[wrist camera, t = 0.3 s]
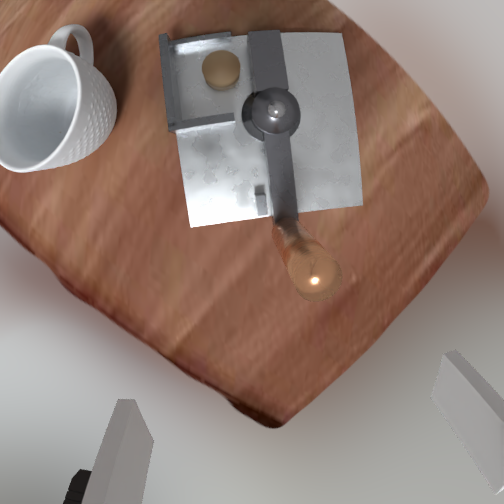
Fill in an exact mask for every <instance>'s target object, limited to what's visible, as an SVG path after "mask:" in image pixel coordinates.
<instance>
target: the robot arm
mask: <svg viewBox="0 0 504 504" xmlns="http://www.w3.org/2000/svg"><path fill="white" fill-rule="evenodd" d="M431 400H432V401H433V402H434V404H435V405H436V407H437V408H438V409H439V411H440V412H441V414H442V415H443V417H444V418H445V419H446V421H447V422H448V423H449V425H450V426H451V428H452V430H453V431H454V432H455V434H456V435H457V437H458V438H459V440H460V441H461V443H462V444H463V446H464V447H465V449H466V450H467V452H468V453H469V455H470V456H471V458H472V459H473V461H474V462H475V464H476V466H477V467H478V469H479V470H480V472H481V473H482V475H483V476H484V478H485V480H486V481H487V483H488V484H489V486H490V488H491V489H492V490H493V492H494V494H495V495H496V494H498V493H499V492H501V491H502V490H504V400H503V399H502V398H501V397H500V395H499V394H498V393H497V392H496V391H495V390H494V389H493V388H492V387H491V386H490V384H489V383H488V382H486V380H485V379H484V378H483V377H482V376H481V375H480V374H479V373H478V372H477V371H476V370H475V369H474V367H472V366H471V364H470V363H469V362H468V361H467V360H466V359H465V358H464V357H463V356H462V355H461V354H460V353H459V352H458V351H457V350H453V351H450V352H447V353H444V354H443V358H442V361H441V365H440V368H439V372H438V375H437V379H436V382H435V385H434V389H433V392H432V395H431ZM153 443H154V440H153V438H152V436H151V434H150V432H149V430H148V428H147V426H146V423H145V421H144V419H143V417H142V415H141V413H140V410H139V408H138V406H137V403H136V401H135V400H132V399H131V400H129V399H118V401H117V403H116V406H115V408H114V411H113V414H112V416H111V419H110V422H109V424H108V427H107V430H106V433H105V435H104V438H103V441H102V444H101V446H100V449H99V452H98V455H97V458H96V461H95V464H94V466H93V469H92V471H88V470H82V469H80V470H79V471H78V472H77V474H76V475H75V476H74V477H73V478H72V480H71V483H70V485H69V488H68V490H69V491H67V494H66V497H65V500H64V502H63V504H142V499H143V493H144V488H145V483H146V478H147V472H148V467H149V462H150V457H151V453H152V448H153Z"/></svg>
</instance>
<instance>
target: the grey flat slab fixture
mask: <svg viewBox="0 0 504 504" xmlns="http://www.w3.org/2000/svg"><path fill="white" fill-rule="evenodd" d="M280 34H281V40H282V46H283V52H284V59H285V65H286V72H287V78H288V85H289V89H288V90H287V91H289V92H290V93H291V94H293V95H294V97H295V98H296V99H297V101H298V104H299V107H300V115H299V119H298V121H297V123H296V124H295V125H294V127H293V128H291V129H290V130H289V135H290V143H291V152H292V160H293V169H294V179H295V188H296V198H297V208H298V213H299V212H307V211H315V210H324V209H332V208H341V207H350V206H359V205H363V200H362V183H361V169H360V157H359V146H358V136H357V127H356V119H355V111H354V103H353V96H352V89H351V83H350V76H349V70H348V64H347V59H346V53H345V48H344V43H343V38H342V33H322V32H293V33H280ZM159 45H160V57H161V67H162V77H163V87H164V96H165V104H166V113H167V121H168V128H169V132H172V133H175V134H176V135H177V142H178V149H179V156H180V163H181V170H182V176H183V183H184V189H185V195H186V202H187V208H188V214H189V219H190V225H191V227H196V226H203V225H210V224H217V223H224V222H231V221H238V220H245V219H253V218H260V217H268V216H272V209H271V201H270V192H269V183H268V175H267V167H266V159H265V151H264V143H263V135H262V132H260V131H258V130H257V129H256V128H255V127H254V125H253V124H252V122H251V119H250V108H251V105H252V103H253V101H254V99H255V97H254V90H253V83H252V75H251V68H250V61H249V54H248V47H247V35H242V36H233V37H231V32H222V33H215V34H208V35H201V36H195V37H189V38H184V39H178V40H173V41H171V39H170V38H169V36H168V34H167V33H165V34H160V35H159ZM218 50H226V51H229V52H232V53H233V54H235V55H236V56H237V58H238V59H239V61H240V66H241V67H240V76H239V80H238V82H237V84H236V85H235V86H234V87H232V88H231V89H229V90H225V91H218V90H214V89H212V88H211V87H209V86H208V84H207V83H206V81H205V78H204V75H203V73H202V63H203V61H204V59H205V58H206V56H207V55H209V54H210V53H212V52H214V51H218Z"/></svg>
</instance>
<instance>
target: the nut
mask: <svg viewBox="0 0 504 504" xmlns="http://www.w3.org/2000/svg"><path fill="white" fill-rule="evenodd" d="M240 67H241V66H240V61H239V59H238V58H237V56H236V55H235V54H233V53H232V52H229V51H226V50H218V51H214V52H212V53H210V54H209V55H207V56H206V58H205V59H204V61H203V63H202V73H203V75H204V78H205V81H206V83H207V84H208V86H209V87H211V88H212V89H214V90H218V91H225V90H229V89H231V88H232V87H234V86H235V85H236V84H237V82H238V80H239V76H240Z"/></svg>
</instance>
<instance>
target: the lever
mask: <svg viewBox="0 0 504 504" xmlns="http://www.w3.org/2000/svg"><path fill="white" fill-rule="evenodd" d="M247 47H248V54H249V61H250V68H251V75H252V83H253V90H254V97H255V99H254V101H253V103H252V105H251V108H250V119H251V122H252V124H253V125H254V127H255V128H256V129H257V130H258V131H260V132H262V135H263V143H264V151H265V159H266V167H267V175H268V183H269V192H270V201H271V209H272V218H273V229H272V238H273V240H274V242H275V244H276V247H277V249H278V251H279V253H280V255H281V257H282V259H283V262H284V264H285V266H286V268H287V270H288V272H289V275H290V277H291V279H292V281H293V283H294V285H295V288H296V290H297V292H298V293H299V295H300V296H301V297H303V298H304V299H306V300H308V301H313V302H319V301H323V300H326V299H328V298H330V297H331V296H333V295H334V294H335V293H336V292H337V290H338V289H339V287H340V285H341V282H342V271H341V268H340V266H339V264H338V263H337V262H336V261H335V260H334V259H333V257H332V256H331V255H330V254H329V253H328V252H327V251H326V250H325V249H324V248H323V247H322V246H321V244H320V243H319V242H318V241H317V240H316V239H315V238H314V237H313V236H312V235H311V234H310V233H309V232H308V231H307V229H306V228H305V227H304V226H303V225H302V224H301V223H300V222H299V219H298V208H297V198H296V188H295V179H294V169H293V160H292V152H291V143H290V135H289V130H290V129H291V128H293V127H294V125H295V124H296V123H297V121H298V119H299V115H300V107H299V104H298V101H297V99H296V98H295V97H294V95H293V94H291V93H290V92H289V91H287V90H288V89H289V85H288V78H287V72H286V65H285V59H284V52H283V46H282V40H281V34H280V30H265V31H251V32H248V35H247Z"/></svg>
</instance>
